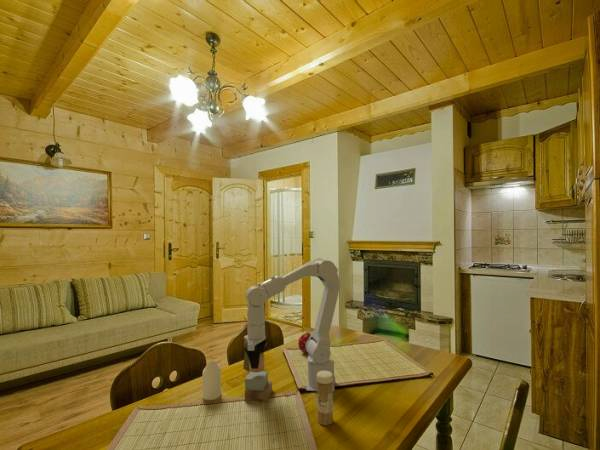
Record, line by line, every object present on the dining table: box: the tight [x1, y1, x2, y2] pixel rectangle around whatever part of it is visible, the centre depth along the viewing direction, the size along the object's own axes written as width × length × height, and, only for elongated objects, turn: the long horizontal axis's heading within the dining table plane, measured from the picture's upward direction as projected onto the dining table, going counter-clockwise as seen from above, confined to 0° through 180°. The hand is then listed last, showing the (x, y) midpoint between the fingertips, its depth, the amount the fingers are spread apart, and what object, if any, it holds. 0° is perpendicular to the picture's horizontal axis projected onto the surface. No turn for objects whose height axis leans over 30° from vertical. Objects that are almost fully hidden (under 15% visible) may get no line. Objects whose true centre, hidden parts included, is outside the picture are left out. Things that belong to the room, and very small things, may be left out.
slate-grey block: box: [244, 370, 269, 391], centre depth 104 cm, size 6×6×4 cm
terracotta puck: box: [248, 353, 266, 372], centre depth 103 cm, size 5×5×4 cm
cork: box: [242, 339, 250, 371], centre depth 126 cm, size 6×6×11 cm
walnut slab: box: [244, 380, 273, 403], centre depth 104 cm, size 8×8×4 cm
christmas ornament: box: [297, 330, 311, 355], centre depth 139 cm, size 9×9×10 cm
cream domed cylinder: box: [201, 360, 222, 401], centre depth 104 cm, size 6×12×6 cm
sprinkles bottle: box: [316, 371, 334, 426], centre depth 89 cm, size 5×5×13 cm
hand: (256, 364), depth 103 cm, fingers closed on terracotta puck, 5 cm apart
